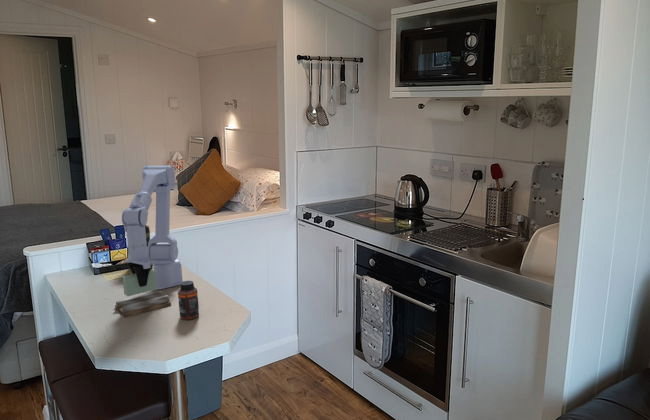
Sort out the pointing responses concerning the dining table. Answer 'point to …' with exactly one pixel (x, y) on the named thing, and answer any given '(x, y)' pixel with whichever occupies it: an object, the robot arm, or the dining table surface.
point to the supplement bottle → (188, 300)
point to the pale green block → (133, 286)
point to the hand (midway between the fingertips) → (141, 284)
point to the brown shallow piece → (142, 303)
